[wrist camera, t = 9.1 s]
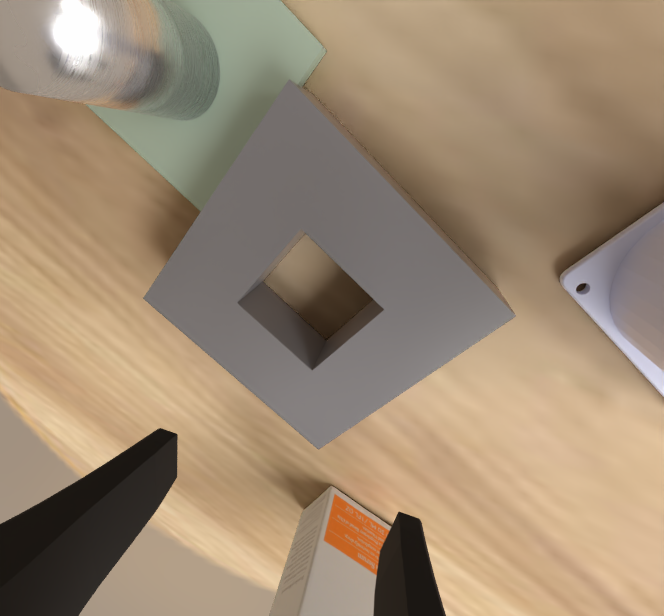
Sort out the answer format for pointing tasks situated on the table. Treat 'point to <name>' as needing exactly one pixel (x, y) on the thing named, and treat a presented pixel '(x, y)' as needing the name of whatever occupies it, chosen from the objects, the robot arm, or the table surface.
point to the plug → (110, 55)
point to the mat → (224, 93)
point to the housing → (347, 251)
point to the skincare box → (332, 560)
